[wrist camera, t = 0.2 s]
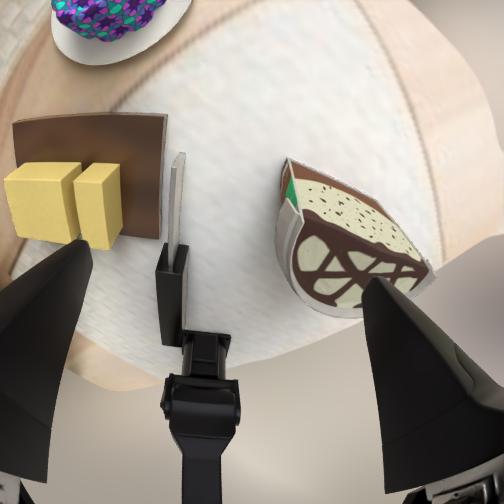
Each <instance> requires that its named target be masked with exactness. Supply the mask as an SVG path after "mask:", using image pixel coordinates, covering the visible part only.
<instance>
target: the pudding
mask: <svg viewBox="0 0 504 504" xmlns="http://www.w3.org/2000/svg"><path fill="white" fill-rule="evenodd" d="M191 1H192V0H52V1H51V5H52V9H53V11H52V16H51V30H52V35H53V38H54V41H55V43H56V45H57V47H58V48H59V50H60V51H61V52H62V53H63V54H64V55H65V56H66V57H68V58H70V59H71V60H73V61H75V62H78V63H81V64H86V65H107V64H111V63H116V62H120V61H122V60H125V59H128V58H130V57H133V56H135V55H136V54H138V53H140V52H142V51H144V50H146V49H147V48H149V47H150V46H152V45H153V44H155V43H156V42H158V41H159V40H160V39H161V38H162V37H163V36H165V35H166V34H167V33H168V32H169V31H170V30H171V29H172V28H173V27H174V26H175V25H176V23H177V22H178V21H179V20H180V19H181V17H182V16H183V14H184V13H185V12H186V10H187V8H188V6H189V5H190V3H191Z"/></svg>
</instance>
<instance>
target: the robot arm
mask: <svg viewBox="0 0 504 504" xmlns="http://www.w3.org/2000/svg"><path fill="white" fill-rule="evenodd" d="M92 268H93V260H92V256H91V251H90V247H89V243H88V241H86V240H81V239H75V240H73V241H72V242H70V243H68V244H67V245H65V246H64V247H62V248H61V249H59V250H57V251H56V252H54V253H53V254H51V255H50V256H48V257H47V258H45V259H44V260H42V261H41V262H39V263H38V264H37V265H35V266H34V267H32V268H31V269H29V270H28V271H27V272H25V273H24V274H22V275H21V276H20V277H18V278H17V279H16V280H14V281H13V282H12V283H10V284H9V285H8V286H6V287H5V288H4V289H2V290H1V291H0V504H35V503H34V502H33V500H32V499H31V497H30V496H29V494H28V492H27V491H26V489H25V487H24V486H23V484H22V482H21V480H20V477H21V478H24V479H28V480H32V481H37V482H42V483H47V472H48V470H47V469H48V457H49V446H50V438H51V428H52V422H53V416H54V410H55V404H56V399H57V395H58V390H59V385H60V381H61V377H62V373H63V369H64V365H65V361H66V357H67V354H68V350H69V347H70V343H71V340H72V337H73V334H74V330H75V327H76V324H77V321H78V318H79V315H80V312H81V309H82V305H83V301H84V297H85V293H86V289H87V286H88V282H89V278H90V275H91V272H92ZM361 303H362V310H363V318H364V326H365V335H366V341H367V347H368V352H369V356H370V362H371V367H372V373H373V379H374V385H375V391H376V397H377V405H378V412H379V420H380V429H381V438H382V452H383V466H384V488H385V494H389V493H394V492H399V491H404V490H408V489H412V488H416V487H419V486H422V487H421V488H419V489H416V490H414V491H412V492H410V493H408V494H407V496H406V498H405V500H404V502H403V503H402V504H504V388H503V387H501V386H500V385H498V384H497V383H496V382H495V381H494V380H493V379H492V378H491V377H490V376H489V375H487V373H485V372H484V371H483V370H482V369H481V368H480V367H479V366H478V365H477V364H476V363H475V362H474V361H473V360H472V359H471V358H469V357H468V355H467V354H466V353H465V352H464V351H463V350H462V349H461V348H460V347H459V346H458V345H457V344H456V343H454V342H453V340H452V339H450V337H449V336H448V335H447V334H446V333H444V331H443V330H441V328H440V327H438V326H437V325H436V324H435V323H434V322H433V321H432V320H431V319H430V318H429V317H428V316H427V315H426V314H425V313H424V312H423V311H422V310H421V309H419V308H418V307H417V306H416V305H415V304H414V303H413V302H412V301H411V300H410V299H409V298H407V297H406V296H405V295H404V294H403V293H402V292H401V291H400V290H398V289H397V288H396V287H395V286H394V285H393V284H392V283H391V282H389V281H388V280H387V279H386V278H385V277H381V276H373V277H372V278H371V279H370V281H369V282H368V284H367V286H366V287H365V289H364V290H363V292H362V295H361ZM230 341H231V336H230V335H228V334H217V333H208V332H199V331H190V330H184V338H183V346H182V355H183V365H182V374H181V375H175V374H173V373H170V375H169V377H168V378H165V386H164V391H163V395H162V399H161V403H160V407H161V408H162V410H163V411H164V414H165V419H166V420H169V428H170V432H171V435H172V437H173V439H174V441H175V443H176V445H177V446H178V448H179V450H180V451H181V453H182V455H183V456H182V504H222V486H221V485H222V484H221V483H222V482H221V454H222V453H223V452H224V450H225V449H226V447H227V446H228V444H229V442H230V441H231V439H232V438H233V436H234V435H235V432H236V426H238V425H239V423H240V416H241V405H240V395H239V387H238V380H235V379H234V380H225V359H226V357H227V353H228V349H229V345H230Z"/></svg>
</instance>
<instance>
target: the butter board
mask: <svg viewBox="0 0 504 504" xmlns="http://www.w3.org/2000/svg"><path fill="white" fill-rule="evenodd" d="M166 124H167V114H158V113H129V112H109V113H81V114H66V115H55V116H46V117H38V118H30V119H24V120H18V121H16V122H14V123H13V124H12V125H13V139H14V149H15V157H16V164H17V168H19V167H20V166H21V165H23V164H24V163H32V162H81V166H82V173H83V172H84V171H85V170H86V169H87V168H88V167H89V166H90V165H92V164H93V163H110V164H120V190H121V207H122V221H123V227H122V229H121V231H120V233H119V235H127V236H135V237H143V238H150V239H159V238H160V235H161V204H162V177H163V160H164V146H165V134H166Z"/></svg>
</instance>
